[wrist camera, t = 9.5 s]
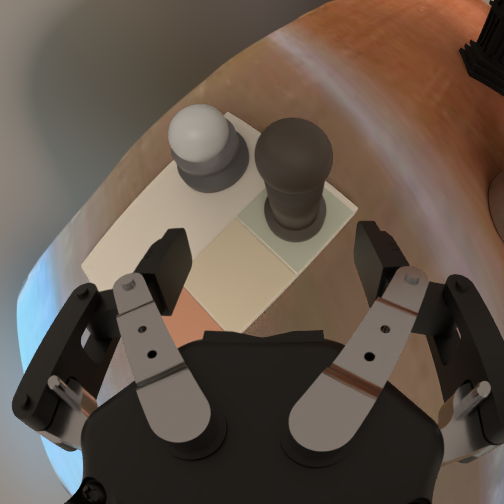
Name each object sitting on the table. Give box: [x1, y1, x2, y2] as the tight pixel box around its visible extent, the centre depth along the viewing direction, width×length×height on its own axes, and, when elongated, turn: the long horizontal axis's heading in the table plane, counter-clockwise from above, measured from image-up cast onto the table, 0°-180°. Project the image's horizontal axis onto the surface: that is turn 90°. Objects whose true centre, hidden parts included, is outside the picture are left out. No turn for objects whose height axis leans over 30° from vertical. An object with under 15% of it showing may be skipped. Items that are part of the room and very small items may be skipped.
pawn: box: [254, 118, 333, 243], centre depth 16 cm, size 5×5×11 cm
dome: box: [168, 104, 240, 178], centre depth 20 cm, size 6×6×5 cm
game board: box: [81, 112, 358, 348], centre depth 23 cm, size 22×16×2 cm
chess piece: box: [459, 0, 504, 96], centre depth 13 cm, size 8×8×20 cm
